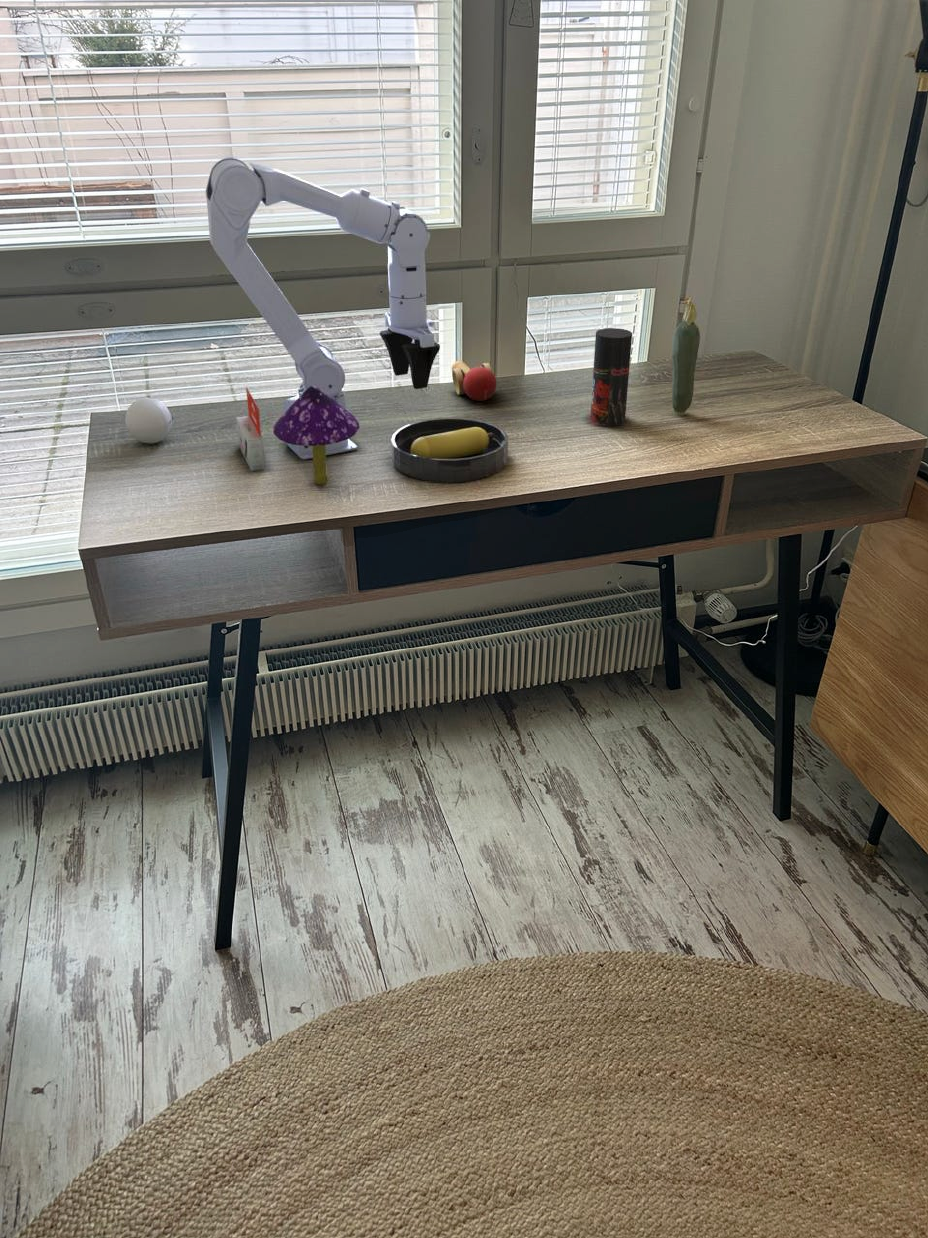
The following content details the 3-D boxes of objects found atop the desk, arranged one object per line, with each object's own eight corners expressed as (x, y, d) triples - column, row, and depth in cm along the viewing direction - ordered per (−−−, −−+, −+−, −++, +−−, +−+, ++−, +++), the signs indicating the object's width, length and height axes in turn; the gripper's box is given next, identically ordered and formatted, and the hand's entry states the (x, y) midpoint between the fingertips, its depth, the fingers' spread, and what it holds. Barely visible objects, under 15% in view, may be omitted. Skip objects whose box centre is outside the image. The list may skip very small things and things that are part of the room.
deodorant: (631, 423, 163) (639, 335, 156) (600, 428, 162) (606, 339, 154) (614, 412, 168) (620, 326, 160) (584, 417, 166) (589, 330, 158)
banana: (418, 470, 146) (417, 444, 144) (406, 461, 149) (405, 435, 147) (498, 453, 151) (499, 428, 149) (485, 445, 154) (486, 420, 152)
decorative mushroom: (304, 509, 135) (293, 407, 127) (265, 481, 144) (252, 383, 136) (379, 488, 141) (373, 388, 134) (337, 461, 150) (329, 367, 142)
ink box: (251, 472, 147) (243, 411, 142) (239, 446, 156) (231, 388, 151) (267, 469, 147) (259, 409, 142) (254, 444, 156) (246, 386, 151)
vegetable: (692, 420, 165) (707, 301, 154) (667, 420, 165) (680, 301, 154) (687, 411, 168) (701, 294, 158) (663, 411, 168) (675, 295, 158)
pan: (423, 492, 140) (422, 468, 138) (374, 452, 153) (373, 429, 151) (528, 469, 147) (529, 446, 145) (473, 432, 160) (473, 410, 158)
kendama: (436, 384, 186) (460, 401, 170) (440, 351, 184) (465, 365, 168) (474, 388, 188) (501, 405, 172) (478, 355, 186) (507, 369, 170)
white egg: (174, 448, 155) (166, 404, 151) (127, 451, 154) (118, 407, 150) (179, 427, 164) (172, 385, 160) (134, 429, 163) (126, 387, 159)
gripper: (451, 301, 143) (452, 389, 150) (412, 282, 154) (414, 365, 161) (408, 306, 141) (411, 396, 148) (371, 286, 152) (376, 371, 159)
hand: (410, 380), depth 154 cm, fingers open, 7 cm apart
